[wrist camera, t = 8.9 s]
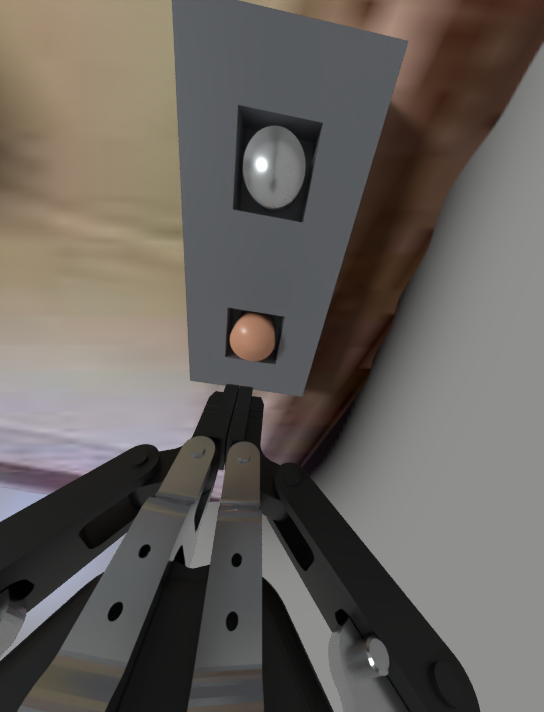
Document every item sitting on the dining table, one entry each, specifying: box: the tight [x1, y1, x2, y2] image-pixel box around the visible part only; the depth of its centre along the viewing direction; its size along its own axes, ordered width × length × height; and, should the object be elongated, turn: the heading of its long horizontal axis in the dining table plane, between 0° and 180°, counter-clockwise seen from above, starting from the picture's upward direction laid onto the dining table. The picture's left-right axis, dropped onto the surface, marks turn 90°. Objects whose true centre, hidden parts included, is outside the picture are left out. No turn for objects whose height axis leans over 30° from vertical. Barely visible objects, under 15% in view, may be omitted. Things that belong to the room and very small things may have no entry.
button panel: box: [172, 0, 408, 396], centre depth 18 cm, size 24×12×4 cm, turn 171°
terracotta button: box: [230, 311, 275, 361], centre depth 20 cm, size 4×4×3 cm
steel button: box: [243, 126, 306, 212], centre depth 15 cm, size 4×4×3 cm
